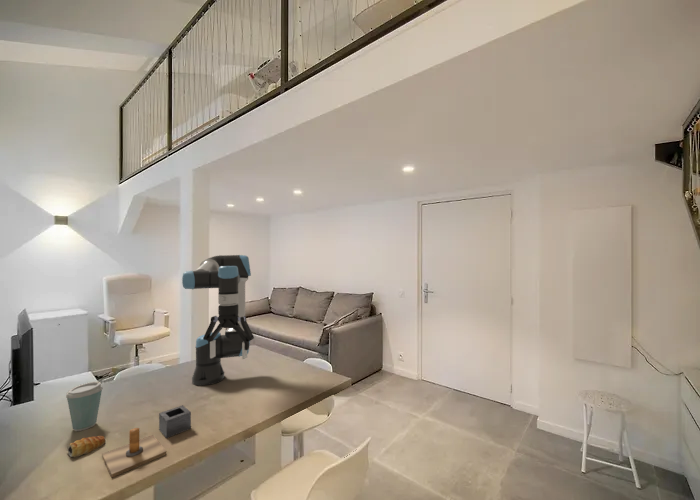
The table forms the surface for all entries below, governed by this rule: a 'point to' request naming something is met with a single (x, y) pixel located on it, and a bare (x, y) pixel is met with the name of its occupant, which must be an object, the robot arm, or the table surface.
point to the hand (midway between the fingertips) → (228, 357)
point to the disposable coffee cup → (84, 405)
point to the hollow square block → (174, 421)
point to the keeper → (133, 453)
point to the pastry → (85, 445)
